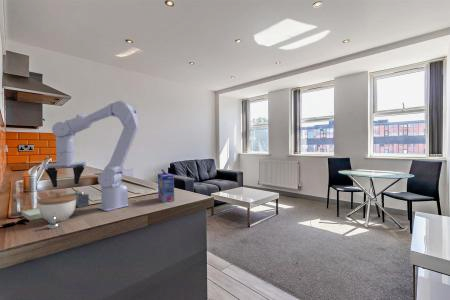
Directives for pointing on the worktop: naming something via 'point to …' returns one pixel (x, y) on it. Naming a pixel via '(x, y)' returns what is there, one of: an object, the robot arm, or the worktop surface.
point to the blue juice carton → (165, 186)
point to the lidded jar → (57, 206)
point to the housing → (81, 199)
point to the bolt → (53, 223)
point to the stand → (32, 214)
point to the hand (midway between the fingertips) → (66, 185)
